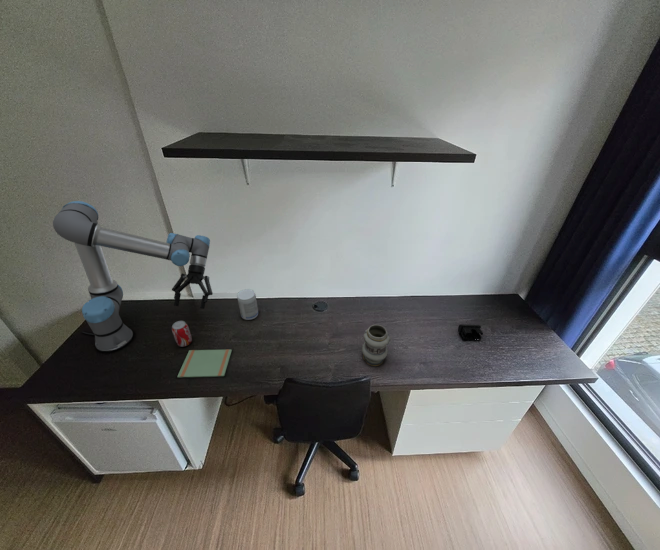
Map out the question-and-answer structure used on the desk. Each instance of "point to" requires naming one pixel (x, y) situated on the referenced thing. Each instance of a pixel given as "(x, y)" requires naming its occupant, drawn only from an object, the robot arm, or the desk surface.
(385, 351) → the apothecary jar
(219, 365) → the towel
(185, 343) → the soda can
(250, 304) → the supplement tub
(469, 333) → the end cap
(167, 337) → the desk surface
